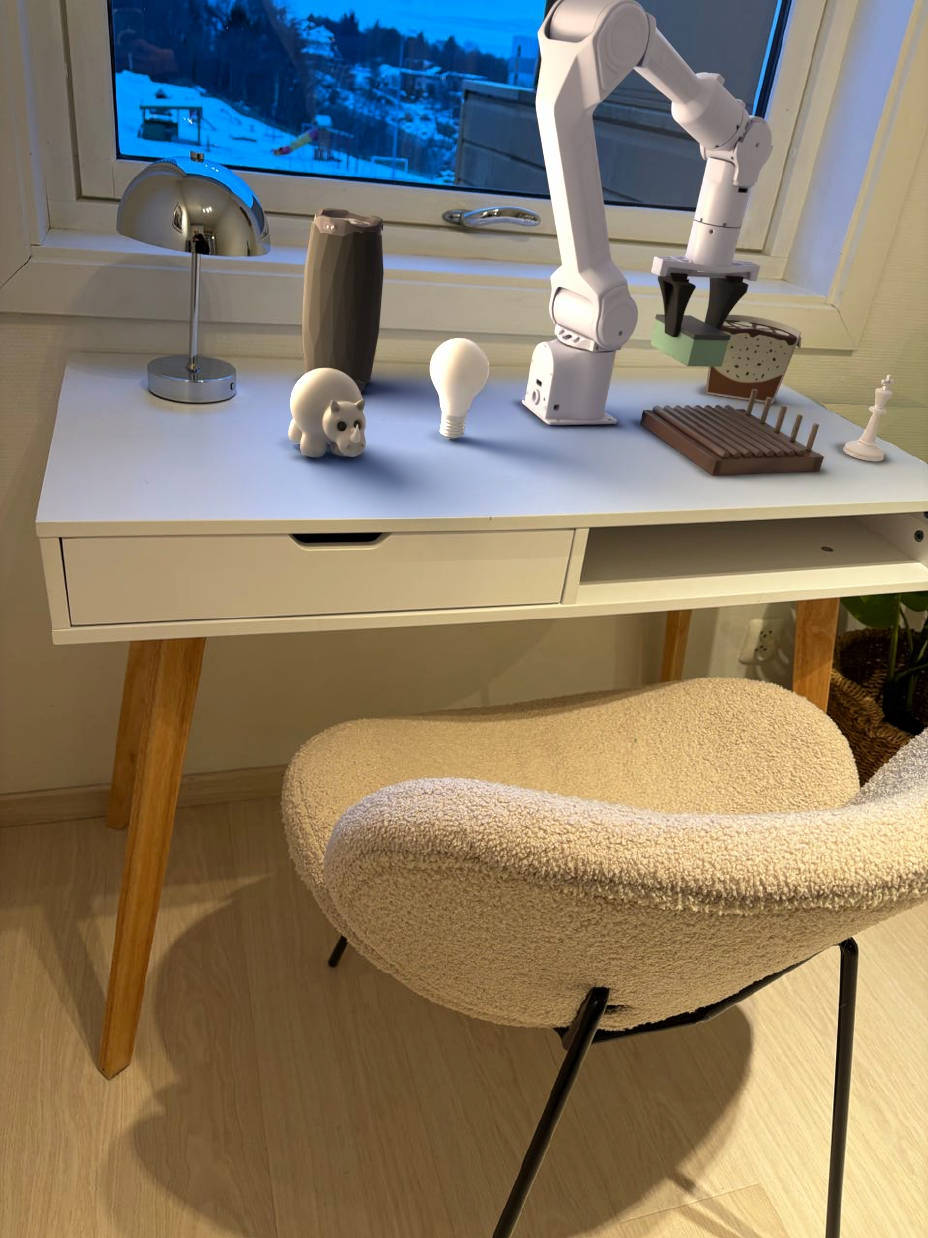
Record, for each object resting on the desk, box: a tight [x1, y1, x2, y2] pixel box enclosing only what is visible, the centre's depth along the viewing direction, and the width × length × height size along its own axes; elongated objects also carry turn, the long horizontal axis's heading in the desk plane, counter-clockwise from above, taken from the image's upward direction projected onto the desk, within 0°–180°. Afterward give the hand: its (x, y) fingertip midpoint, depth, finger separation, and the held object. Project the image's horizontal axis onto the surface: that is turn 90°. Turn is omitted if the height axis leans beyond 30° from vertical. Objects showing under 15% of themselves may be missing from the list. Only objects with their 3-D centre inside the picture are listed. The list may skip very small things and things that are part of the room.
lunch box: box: [650, 313, 731, 368], centre depth 129 cm, size 5×9×4 cm, turn 22°
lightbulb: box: [429, 337, 490, 440], centre depth 109 cm, size 6×6×11 cm
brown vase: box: [301, 207, 385, 394], centre depth 118 cm, size 9×9×20 cm
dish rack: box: [639, 389, 825, 476], centre depth 120 cm, size 15×16×5 cm
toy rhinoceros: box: [288, 368, 367, 458], centre depth 100 cm, size 7×12×8 cm, turn 25°
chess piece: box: [842, 374, 895, 462], centre depth 123 cm, size 5×5×10 cm
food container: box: [704, 314, 802, 405], centre depth 140 cm, size 12×6×10 cm, turn 84°
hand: (690, 335), depth 129 cm, fingers closed on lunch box, 5 cm apart
